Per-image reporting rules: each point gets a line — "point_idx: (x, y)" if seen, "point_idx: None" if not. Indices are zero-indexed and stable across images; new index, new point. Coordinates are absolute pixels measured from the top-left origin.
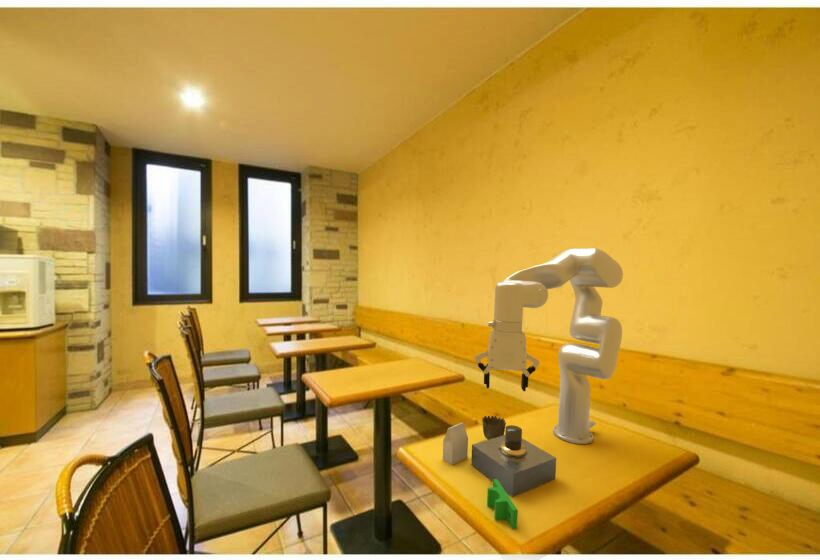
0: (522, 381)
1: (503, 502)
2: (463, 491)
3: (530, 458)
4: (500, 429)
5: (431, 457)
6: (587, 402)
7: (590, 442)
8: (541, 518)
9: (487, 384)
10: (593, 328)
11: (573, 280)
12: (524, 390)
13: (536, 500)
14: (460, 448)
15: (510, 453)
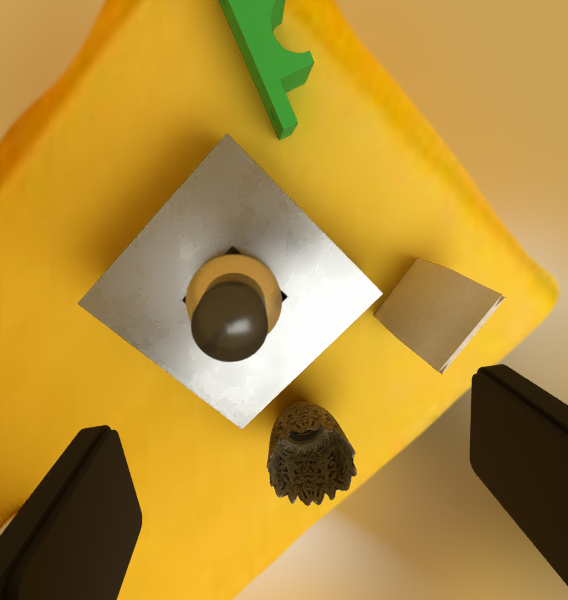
0: (86, 548)
1: None
2: (375, 130)
3: (170, 266)
4: (284, 430)
5: (479, 278)
6: None
7: (5, 522)
8: (146, 67)
9: (524, 382)
10: None
11: None
12: (93, 429)
13: (163, 155)
14: (411, 298)
15: (242, 255)
